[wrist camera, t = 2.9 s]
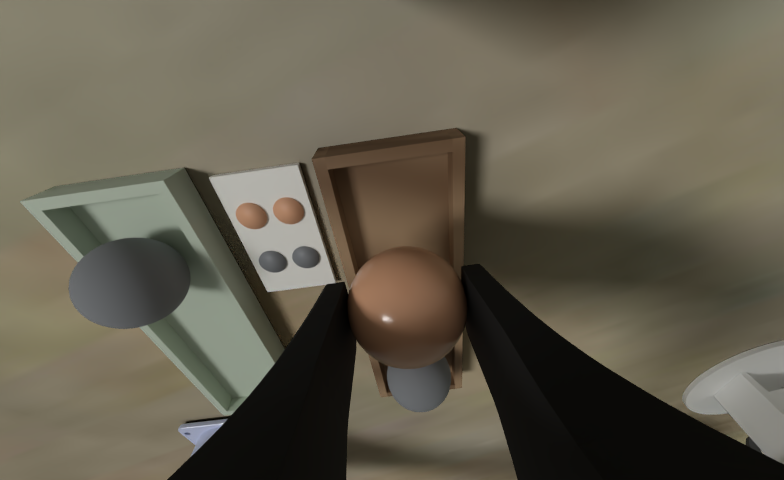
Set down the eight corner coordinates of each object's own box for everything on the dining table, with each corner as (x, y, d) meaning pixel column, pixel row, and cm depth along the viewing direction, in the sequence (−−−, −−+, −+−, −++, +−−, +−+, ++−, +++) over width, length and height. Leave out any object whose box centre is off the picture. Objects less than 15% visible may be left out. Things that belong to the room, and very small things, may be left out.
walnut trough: (456, 368, 22) (461, 387, 21) (380, 377, 22) (380, 397, 21) (456, 128, 12) (465, 136, 11) (318, 148, 12) (311, 159, 11)
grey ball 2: (444, 361, 21) (458, 420, 17) (390, 367, 21) (392, 428, 17) (443, 324, 18) (458, 385, 15) (382, 332, 19) (383, 394, 15)
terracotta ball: (452, 296, 12) (481, 387, 9) (361, 308, 13) (356, 402, 9) (451, 217, 10) (488, 297, 7) (341, 232, 10) (324, 318, 7)
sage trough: (368, 379, 22) (367, 398, 21) (231, 395, 23) (223, 415, 21) (295, 151, 12) (286, 162, 11) (54, 186, 13) (19, 201, 11)
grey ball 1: (220, 279, 15) (177, 342, 12) (149, 288, 16) (87, 353, 12) (180, 215, 13) (115, 270, 10) (98, 227, 13) (6, 285, 10)
